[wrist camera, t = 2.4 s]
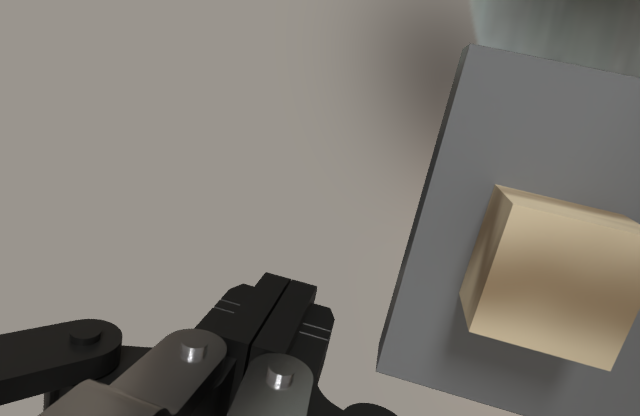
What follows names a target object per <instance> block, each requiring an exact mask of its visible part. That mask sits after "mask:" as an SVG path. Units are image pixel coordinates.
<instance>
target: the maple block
mask: <svg viewBox="0 0 640 416" xmlns="http://www.w3.org/2000/svg"><path fill="white" fill-rule="evenodd" d="M459 295H460V299H461V303H462V307H463V311H464V315H465V319H466V323H467V327H468V331H469V332H471V333H475V334H479V335H482V336H486V337H489V338H493V339H496V340H500V341H504V342H507V343H511V344H514V345H518V346H521V347H525V348H528V349H532V350H536V351H539V352H543V353H546V354H550V355H553V356H557V357H561V358H564V359H568V360H571V361H575V362H578V363H582V364H585V365H589V366H593V367H596V368H600V369H603V370H607V371H611V369H612V367H613V365H614V363H615V361H616V358H617V356H618V354H619V352H620V350H621V348H622V345H623V343H624V341H625V339H626V337H627V335H628V333H629V330H630V328H631V326H632V324H633V322H634V320H635V318H636V315H637V313H638V311H639V309H640V224H638V223H637V222H635V221H633V220H632V219H630V218H628V217H626V216H625V215H622V214H618V213H614V212H609V211H605V210H601V209H597V208H593V207H588V206H584V205H580V204H576V203H572V202H568V201H563V200H559V199H555V198H551V197H547V196H542V195H538V194H534V193H530V192H526V191H521V190H517V189H513V188H509V187H505V186H501V185H496V184H495V186H494V189H493V192H492V195H491V198H490V201H489V204H488V207H487V210H486V213H485V216H484V219H483V222H482V225H481V228H480V231H479V234H478V237H477V240H476V243H475V246H474V249H473V252H472V255H471V258H470V261H469V264H468V267H467V270H466V273H465V276H464V279H463V282H462V285H461V288H460V292H459Z"/></svg>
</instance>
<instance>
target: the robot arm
mask: <svg viewBox="0 0 640 416" xmlns="http://www.w3.org/2000/svg"><path fill="white" fill-rule="evenodd" d="M316 292H317V286H314V285H310V284H307V283H303V282H300V281H296V280H291V279H289V278H285V277H281V276H278V275H274V274H271V273H267V272H266V273H265V274H264V275H263V276H262V278H261V279H260V280H259V281H258V283H257V284H256V285H255V287H253V286H250V285H246V284H241V285H239V286H236V287H234V288H231V289H230V290H228V291H227V293H226V294H225V295H224V296H223V297H222V298H221V300H219V301H218V303H217V304H216V305H215V307H214V308H212V309H211V310H210V311H209V313H208V314H207V315H206V316H205V317H204V318H203V319H202V321H201V322H200V323H199V324H198V325H197V326H196V327H195V328H194V329H183V330H178V331H175V332H173V333H171V334H169V335H168V336H166V337H165V338H164V339H163V340H162V341H160V342H159V343H158V344H157V345H156V346H154V347H153V348H150V347H149V348H148V347H135V346H122V332H121V330H120V329H119V328H118V327H117V326H116V325H114V324H112V323H110V322H107V321H103V320H97V319H82V320H75V321H70V322H64V323H59V324H54V325H49V326H43V327H38V328H33V329H27V330H22V331H17V332H12V333H6V334H1V335H0V405H4V404H7V403H11V402H14V401H18V400H22V399H25V398H29V397H32V396H36V395H40V394H43V393H44V410H43V412H42V413H41V414H39V415H38V416H397V415H395V414H394V413H393V412H391V411H390V410H388V409H386V408H384V407H381V406H378V405H375V404H370V403H357V404H353V405H351V406H349V407H347V408H346V409H345V410H342V409H340V408H339V407H337V406H336V405H334V404H333V403H331V402H330V401H329V400H328V399H327V398H326V397H325V396H324V395H323V394H322V393H321V391H320V389H319V387H318V381H319V378H320V375H321V371H322V368H323V364H324V360H325V356H326V352H327V348H328V344H329V340H330V336H331V332H332V328H333V324H334V320H335V319H334V317H333V314H332V312H331V309H330V308H328V307H324V306H321V305H317V304H314V300H315V296H316Z"/></svg>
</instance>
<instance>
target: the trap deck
mask: <svg viewBox="0 0 640 416" xmlns="http://www.w3.org/2000/svg"><path fill="white" fill-rule="evenodd" d="M495 184H496V185H501V186H505V187H509V188H513V189H517V190H521V191H526V192H530V193H534V194H538V195H542V196H547V197H551V198H555V199H559V200H563V201H568V202H572V203H576V204H580V205H584V206H588V207H593V208H597V209H601V210H605V211H609V212H614V213H618V214H622V215H625V216H626V217H628V218H630V219H632V220H633V221H635V222H637V223H638V224H640V78H638V77H633V76H628V75H623V74H618V73H613V72H608V71H603V70H599V69H594V68H589V67H584V66H579V65H574V64H569V63H564V62H559V61H554V60H549V59H544V58H539V57H534V56H529V55H524V54H519V53H514V52H509V51H505V50H500V49H495V48H490V47H485V46H480V45H475V44H469V45H468V46H466V47H465V48H464V49H463V50H462V53H461V57H460V61H459V64H458V68H457V71H456V74H455V78H454V82H453V85H452V89H451V92H450V96H449V99H448V103H447V106H446V110H445V113H444V117H443V120H442V124H441V127H440V131H439V134H438V138H437V141H436V145H435V148H434V152H433V156H432V159H431V163H430V167H429V169H428V173H427V176H426V180H425V184H424V187H423V191H422V194H421V198H420V201H419V205H418V209H417V212H416V215H415V219H414V222H413V226H412V229H411V233H410V236H409V240H408V244H407V247H406V250H405V254H404V257H403V261H402V264H401V268H400V272H399V275H398V279H397V282H396V286H395V289H394V293H393V296H392V300H391V303H390V307H389V310H388V314H387V317H386V321H385V324H384V328H383V331H382V335H381V338H380V342H379V348H378V357H377V366H376V372H379V373H383V374H386V375H389V376H393V377H396V378H399V379H403V380H406V381H409V382H413V383H416V384H419V385H423V386H426V387H429V388H433V389H436V390H439V391H443V392H446V393H449V394H453V395H456V396H460V397H463V398H466V399H470V400H473V401H476V402H480V403H483V404H486V405H489V406H493V407H496V408H499V409H503V410H506V411H510V412H513V413H516V414H520V415H523V416H640V309H639V311H638V313H637V315H636V318H635V320H634V322H633V324H632V326H631V328H630V330H629V333H628V335H627V337H626V339H625V341H624V343H623V345H622V348H621V350H620V352H619V354H618V356H617V358H616V361H615V363H614V365H613V367H612V369H611V371H607V370H603V369H600V368H596V367H593V366H589V365H585V364H582V363H578V362H575V361H571V360H568V359H564V358H561V357H557V356H553V355H550V354H546V353H543V352H539V351H536V350H532V349H528V348H525V347H521V346H518V345H514V344H511V343H507V342H504V341H500V340H496V339H493V338H489V337H486V336H482V335H479V334H475V333H471V332H469V331H468V327H467V323H466V319H465V315H464V311H463V307H462V303H461V299H460V295H459V292H460V288H461V285H462V282H463V279H464V276H465V273H466V270H467V267H468V264H469V261H470V258H471V255H472V252H473V249H474V246H475V243H476V240H477V237H478V234H479V231H480V228H481V225H482V222H483V219H484V216H485V213H486V210H487V207H488V204H489V201H490V198H491V195H492V192H493V189H494V186H495Z"/></svg>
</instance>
